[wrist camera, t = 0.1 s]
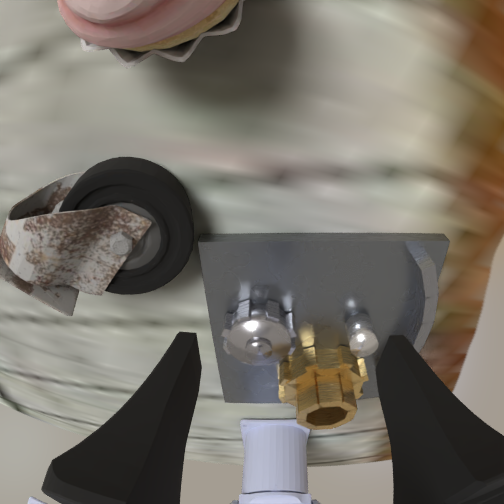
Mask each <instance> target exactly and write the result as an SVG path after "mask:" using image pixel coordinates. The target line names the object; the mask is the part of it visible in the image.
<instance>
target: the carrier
mask: <svg viewBox="0 0 504 504" xmlns="http://www.w3.org/2000/svg"><path fill="white" fill-rule="evenodd" d="M449 242H450V241H449V239H448V238H447V237H446V236H445V235H444V234H422V233H257V234H201V235H200V238H199V240H198V247H199V254H200V261H201V268H202V274H203V281H204V287H205V294H206V300H207V306H208V312H209V318H210V324H211V330H212V336H213V341H214V347H215V353H216V358H217V363H218V369H219V374H220V379H221V384H222V389H223V395H224V400H225V402H229V403H282V402H281V401H280V399H279V367H280V366H281V365H282V363H283V362H287V363H289V362H290V361H292V360H294V359H295V358H297V357H299V356H300V355H302V354H303V350H304V349H307V348H311V347H315V349H337V348H338V347H339V346H345V347H349V348H350V353H351V355H352V356H354V357H355V358H356V359H358V360H359V359H362V358H363V359H364V362H365V366H366V370H367V374H368V379H369V380H368V381H365V382H363V385H362V389H363V395H362V396H361V397H360V398H358V399H364V398H373V397H379V393H378V387H377V380H376V371H375V368H376V366H377V364H378V362H379V359H380V357H381V355H382V352H383V350H384V348H385V345H386V343H387V340H388V338H389V336H390V335H404V336H405V337H406V338H407V340H408V341H409V342H410V343H411V345H412V346H413V347H414V348H415V350H416V351H417V352H418V353H419V352H420V350H421V349H422V348H423V346H424V344H425V342H426V339H427V337H428V335H429V333H430V330H431V328H432V326H433V323H434V319H435V313H436V307H437V301H438V294H439V293H438V283H437V282H438V279H439V276H440V273H441V269H442V266H443V263H444V260H445V256H446V253H447V249H448V246H449ZM286 403H287V402H286Z"/></svg>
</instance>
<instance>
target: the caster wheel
mask: <svg viewBox="0 0 504 504" xmlns="http://www.w3.org/2000/svg"><path fill="white" fill-rule="evenodd" d="M193 242H194V227H193V220H192V212H191V207H190V203H189V199H188V196H187V194H186V192H185V190H184V189H183V187H182V186H181V184H180V183H179V182H178V180H177V179H176V178H175V177H174V176H173V175H172V174H171V173H169V172H168V171H167V170H166V169H164V168H163V167H161V166H159V165H158V164H155V163H153V162H151V161H148V160H145V159H141V158H134V157H118V158H112V159H109V160H106V161H103V162H100V163H98V164H96V165H95V166H93V167H91V168H90V169H88V170H87V171H86V172H78V173H73V174H70V175H66V176H64V177H61V178H59V179H57V180H55V181H53V182H51V183H49V184H47V185H45V186H44V187H42V188H40V189H39V190H37V191H36V192H34V193H32V194H31V195H29V196H28V197H26V198H25V199H23V200H22V201H20V202H18V203H17V204H16V205H14V206H13V207H12V208H11V210H10V211H9V214H8V216H7V219H6V221H5V224H4V227H3V230H2V233H1V236H0V278H2V279H3V280H5V281H7V282H8V283H10V284H11V285H13V286H15V287H16V288H18V289H20V290H22V291H23V292H25V293H27V294H28V295H30V296H32V297H34V298H35V299H37V300H39V301H41V302H43V303H44V304H46V305H48V306H50V307H52V308H54V309H56V310H57V311H59V312H61V313H63V314H65V315H67V316H72V315H73V311H74V308H75V304H76V300H77V297H78V294H79V290H80V291H82V292H85V293H88V294H94V295H102V294H103V292H104V291H107V292H111V293H116V294H141V293H146V292H150V291H152V290H155V289H158V288H160V287H162V286H164V285H165V284H167V283H168V282H170V281H171V280H172V279H173V278H174V277H176V276H177V275H178V274H179V273H180V272H181V270H182V269H183V267H184V266H185V264H186V263H187V261H188V259H189V257H190V254H191V251H192V248H193Z"/></svg>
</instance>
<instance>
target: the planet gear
mask: <svg viewBox="0 0 504 504" xmlns="http://www.w3.org/2000/svg"><path fill="white" fill-rule="evenodd" d="M368 380H369V379H368V374H367V370H366V366H365V362H364V359H363V358H362V359H359V360H358V359H356V358H355V357H354V356H352V355H351V353H350V348H349V347H345V346H339V347H338V348H337V349H315V347H311V348H307V349H304V350H303V354H302V355H300V356H299V357H297V358H295V359H294V360H292V361H290V362H289V363H287V362H283V363H282V365H281V366H280V367H279V399H280V401H281V402H282V403H286V402H287V403H289V404H291V405H293V406H296V423H297V424H299V425H301V426H303V427H306V428H308V429H310V430H311V429H313V430H319V429H333V427H334V428H336V427H338V426H341V425H343V424H345V423H347V422H349V421H351V419H353V418H354V416H355V413H356V411H357V405H356V399H358V398H360V397H361V396H362V395H363V389H362V385H363V382H365V381H368Z"/></svg>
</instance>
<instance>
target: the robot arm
mask: <svg viewBox="0 0 504 504" xmlns="http://www.w3.org/2000/svg"><path fill="white" fill-rule="evenodd" d="M201 369H202V366H201V360H200V354H199V348H198V341H197V335H196V333H190V332H179V333H178V334H177V335H176V337H175V339H174V340H173V342H172V343H171V345H170V347H169V348H168V350H167V351H166V353H165V354H164V356H163V357H162V359H161V360H160V361H159V363H158V364H157V366H156V367H155V368H154V370H153V371H152V372H151V374H150V375H149V376H148V378H147V379H146V380H145V381H144V383H143V384H142V385H141V386H140V387H139V389H138V390H137V391H136V392H135V394H134V395H133V396H132V397H131V398H130V399H129V400H128V401H127V402H126V403H125V404H124V405H123V407H122V408H121V409H120V410H119V411H118V412H117V413H115V414H114V415H113V416H112V417H111V418H110V419H109V420H108V421H107V422H106V423H105V424H103V425H102V426H101V427H100V428H99V429H97V430H96V431H95V432H94V433H92V434H91V435H90V436H88V437H87V438H86V439H84V440H83V441H82V442H80V443H79V444H78V445H76V446H75V447H73V448H71V449H70V450H68V451H67V452H65V453H63V454H62V455H60V456H58V457H57V458H55V459H53V460H52V462H51V464H50V466H49V468H48V471H47V474H46V477H45V479H44V482H43V486H42V491H43V492H44V493H45V494H46V495H48V496H49V497H51V498H53V499H54V500H56V501H58V502H59V503H61V504H180V492H181V481H182V471H183V462H184V454H185V447H186V442H187V437H188V433H189V429H190V425H191V421H192V417H193V413H194V409H195V405H196V401H197V397H198V392H199V386H200V378H201ZM375 371H376V380H377V387H378V393H379V398H380V402H381V406H382V410H383V414H384V418H385V422H386V426H387V430H388V434H389V439H390V444H391V452H392V462H393V483H394V495H393V496H394V498H393V504H504V436H503V435H502V434H500V433H499V432H497V431H496V430H494V429H493V428H491V427H490V426H489V425H487V424H486V423H484V422H483V421H482V420H481V419H480V418H478V417H477V416H476V415H475V414H474V413H473V412H471V411H470V410H469V409H468V408H467V407H466V406H465V405H464V404H463V403H462V402H461V401H460V400H459V399H458V398H457V397H456V396H455V395H454V394H453V393H452V392H451V391H450V390H449V389H448V388H447V387H446V386H445V385H444V383H443V382H442V381H441V380H440V379H439V378H438V377H437V375H436V374H435V373H434V372H433V371H432V369H431V368H430V367H429V366H428V364H427V363H426V362H425V361H424V360H423V358H422V357H421V356H420V355H419V353H418V352H417V351H416V350H415V348H414V347H413V346H412V345H411V343H410V342H409V341H408V340H407V338H406V337H405V336H404V335H390V336H389V338H388V340H387V343H386V345H385V348H384V350H383V352H382V355H381V357H380V359H379V362H378V364H377V366H376V368H375ZM240 425H241V432H242V438H243V445H244V466H243V482H242V494H240V495H239V501H238V500H233V501H232V503H230V504H320V503H319V502H318V501H317V500H311V494H308V480H307V455H306V444H307V440H308V437H309V433H310V429H308V428H306V427H303V426H301V425H299V424H297V423H296V419H288V420H250V419H243V420H241V421H240ZM28 504H47V503H44V502H42V501H40V500H38V499H36V498H34V497H32V496H31V497H29V501H28Z"/></svg>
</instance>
